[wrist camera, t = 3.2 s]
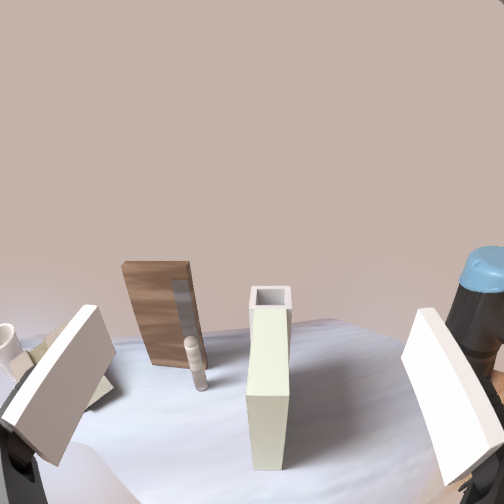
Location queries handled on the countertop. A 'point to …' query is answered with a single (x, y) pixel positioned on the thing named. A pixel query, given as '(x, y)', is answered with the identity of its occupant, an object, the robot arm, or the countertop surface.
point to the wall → (30, 358)
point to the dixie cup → (8, 348)
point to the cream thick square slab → (268, 374)
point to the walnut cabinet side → (167, 314)
